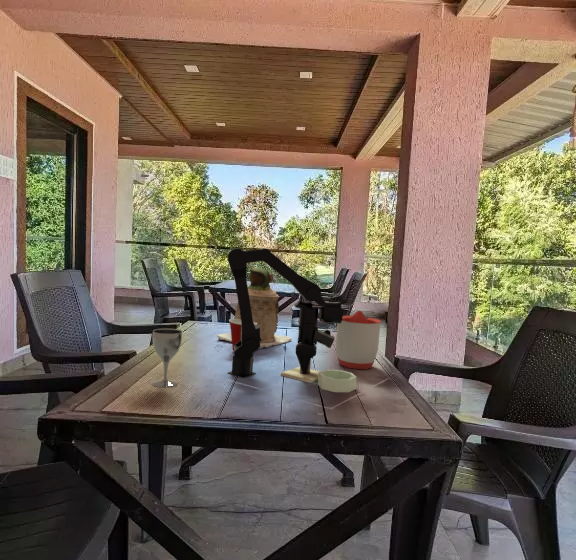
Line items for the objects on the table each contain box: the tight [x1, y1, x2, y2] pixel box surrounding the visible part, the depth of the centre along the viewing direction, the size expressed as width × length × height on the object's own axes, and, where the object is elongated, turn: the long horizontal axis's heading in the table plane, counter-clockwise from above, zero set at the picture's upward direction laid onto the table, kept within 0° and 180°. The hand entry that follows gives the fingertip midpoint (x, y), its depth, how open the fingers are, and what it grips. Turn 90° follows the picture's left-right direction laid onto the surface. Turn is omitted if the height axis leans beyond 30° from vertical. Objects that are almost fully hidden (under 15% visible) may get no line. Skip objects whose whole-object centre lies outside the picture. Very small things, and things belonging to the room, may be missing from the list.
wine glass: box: [151, 328, 183, 389], centre depth 130 cm, size 8×8×15 cm
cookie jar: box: [216, 265, 293, 349], centre depth 197 cm, size 25×25×32 cm
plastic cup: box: [228, 318, 257, 353], centre depth 175 cm, size 11×11×12 cm
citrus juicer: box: [335, 310, 382, 371], centre depth 166 cm, size 16×17×20 cm
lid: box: [280, 358, 321, 384], centre depth 147 cm, size 11×11×5 cm
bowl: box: [317, 369, 358, 393], centre depth 137 cm, size 10×10×4 cm
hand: (304, 370), depth 147 cm, fingers open, 7 cm apart
